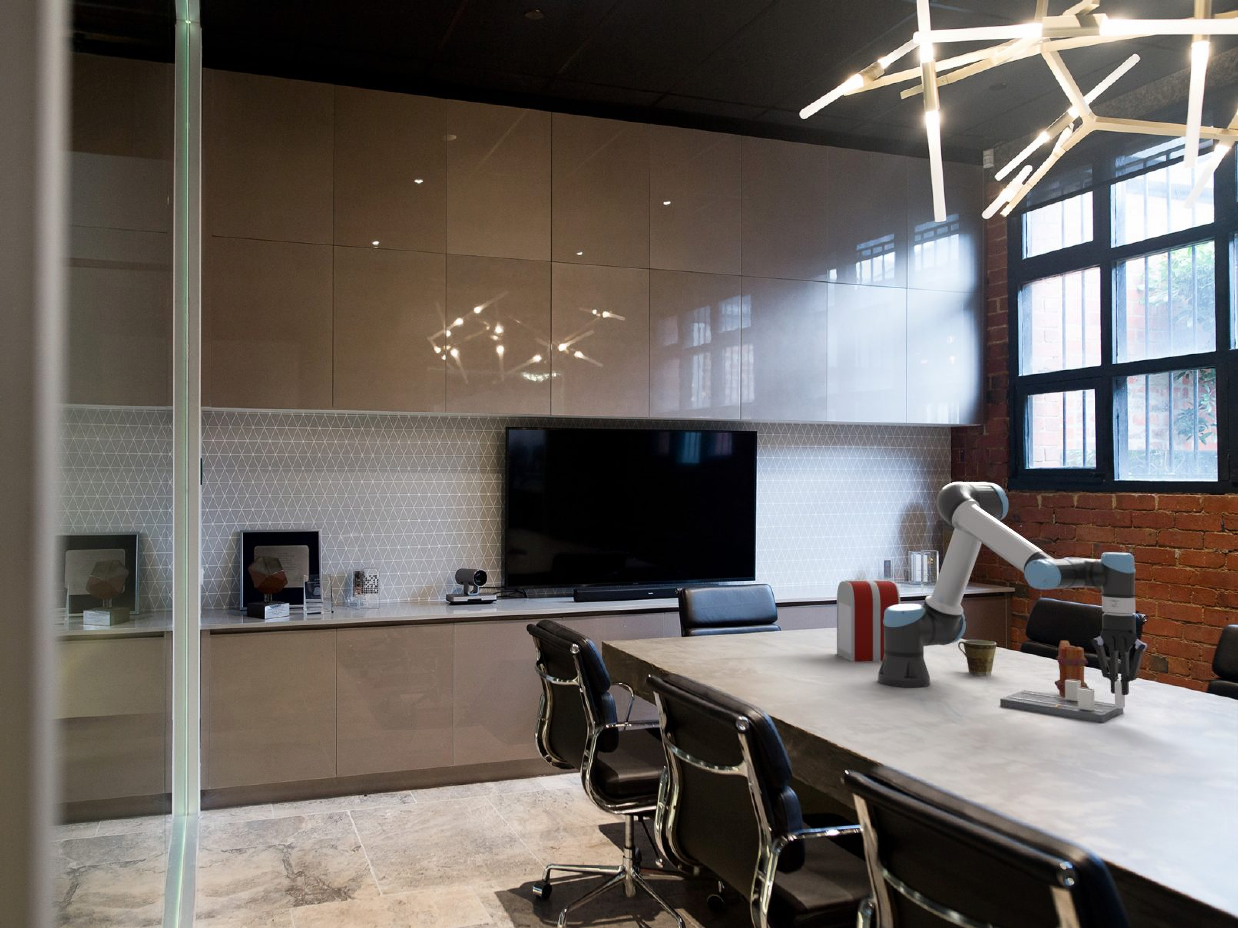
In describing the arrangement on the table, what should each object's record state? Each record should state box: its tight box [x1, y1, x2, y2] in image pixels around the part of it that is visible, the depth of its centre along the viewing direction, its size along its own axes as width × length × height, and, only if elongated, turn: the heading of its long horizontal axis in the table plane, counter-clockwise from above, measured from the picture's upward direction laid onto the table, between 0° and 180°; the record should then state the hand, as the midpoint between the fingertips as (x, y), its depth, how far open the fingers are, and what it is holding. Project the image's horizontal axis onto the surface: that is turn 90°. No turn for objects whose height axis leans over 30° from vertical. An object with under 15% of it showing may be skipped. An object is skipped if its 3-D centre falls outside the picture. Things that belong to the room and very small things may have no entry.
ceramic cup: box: [957, 639, 997, 676], centre depth 306 cm, size 13×10×10 cm
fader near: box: [1078, 687, 1095, 710], centre depth 246 cm, size 3×3×5 cm
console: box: [999, 689, 1124, 724], centre depth 255 cm, size 26×16×2 cm, turn 45°
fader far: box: [1065, 679, 1081, 701], centre depth 257 cm, size 3×3×5 cm
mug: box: [1054, 640, 1090, 696], centre depth 272 cm, size 15×8×15 cm, turn 168°
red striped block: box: [836, 579, 901, 663], centre depth 334 cm, size 16×18×27 cm
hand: (1120, 707), depth 240 cm, fingers closed
